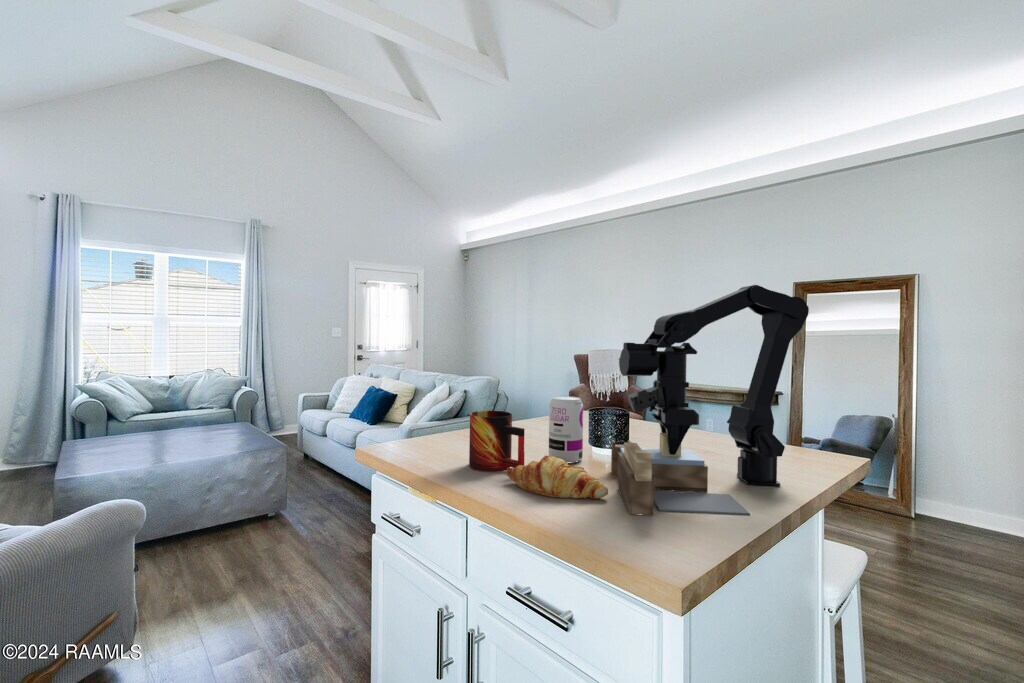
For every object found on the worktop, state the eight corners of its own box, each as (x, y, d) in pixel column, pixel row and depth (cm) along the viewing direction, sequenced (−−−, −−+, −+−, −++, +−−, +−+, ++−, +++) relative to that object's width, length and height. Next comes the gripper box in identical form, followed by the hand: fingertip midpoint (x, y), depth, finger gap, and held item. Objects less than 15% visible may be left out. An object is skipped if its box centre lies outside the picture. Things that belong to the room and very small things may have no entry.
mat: (728, 495, 91) (728, 494, 91) (749, 514, 81) (750, 513, 81) (648, 492, 93) (648, 490, 93) (659, 510, 83) (659, 509, 83)
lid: (691, 454, 103) (691, 431, 103) (704, 465, 94) (704, 440, 94) (620, 452, 104) (620, 429, 104) (626, 462, 95) (626, 437, 95)
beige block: (636, 458, 93) (636, 434, 93) (651, 481, 78) (651, 453, 78) (623, 457, 94) (624, 434, 93) (636, 480, 79) (636, 452, 79)
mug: (523, 475, 103) (524, 419, 103) (462, 469, 107) (463, 416, 107) (533, 464, 112) (534, 412, 112) (477, 459, 116) (478, 409, 116)
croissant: (611, 514, 90) (618, 472, 93) (598, 504, 82) (606, 458, 85) (512, 493, 100) (521, 456, 103) (491, 482, 92) (501, 442, 95)
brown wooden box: (689, 474, 105) (690, 442, 105) (733, 519, 79) (734, 477, 79) (611, 471, 107) (611, 439, 107) (628, 514, 81) (629, 473, 81)
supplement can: (581, 456, 120) (582, 396, 120) (583, 465, 112) (584, 400, 112) (548, 455, 121) (549, 395, 121) (548, 463, 113) (549, 399, 113)
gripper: (625, 372, 108) (623, 441, 109) (639, 379, 90) (637, 462, 90) (675, 373, 107) (674, 442, 108) (700, 380, 89) (699, 464, 89)
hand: (670, 452), depth 99 cm, fingers closed on lid, 3 cm apart
